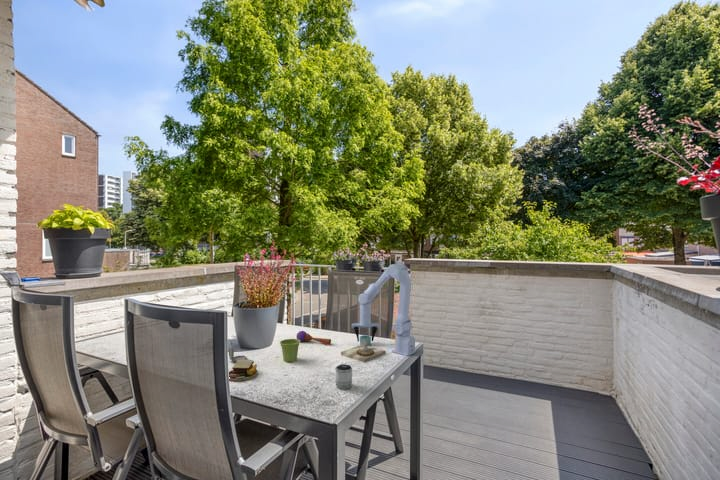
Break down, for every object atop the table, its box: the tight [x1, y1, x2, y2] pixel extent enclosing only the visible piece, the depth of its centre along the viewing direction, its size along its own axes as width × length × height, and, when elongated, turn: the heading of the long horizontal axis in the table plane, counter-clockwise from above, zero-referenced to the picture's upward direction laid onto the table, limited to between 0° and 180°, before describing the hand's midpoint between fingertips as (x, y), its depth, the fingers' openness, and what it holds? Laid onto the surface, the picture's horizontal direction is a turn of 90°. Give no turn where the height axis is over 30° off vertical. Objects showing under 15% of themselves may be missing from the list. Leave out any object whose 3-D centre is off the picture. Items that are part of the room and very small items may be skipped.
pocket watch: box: [228, 339, 248, 363], centre depth 160 cm, size 8×8×10 cm
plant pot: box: [279, 338, 301, 363], centre depth 161 cm, size 9×9×9 cm
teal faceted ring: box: [359, 334, 372, 346], centre depth 185 cm, size 6×6×4 cm
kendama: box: [296, 330, 332, 346], centre depth 188 cm, size 6×6×20 cm
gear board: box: [340, 340, 387, 363], centre depth 169 cm, size 15×16×6 cm
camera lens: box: [335, 363, 353, 391], centre depth 132 cm, size 6×6×8 cm
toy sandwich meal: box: [228, 358, 258, 382], centre depth 143 cm, size 12×14×5 cm
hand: (365, 340), depth 185 cm, fingers open, 7 cm apart
